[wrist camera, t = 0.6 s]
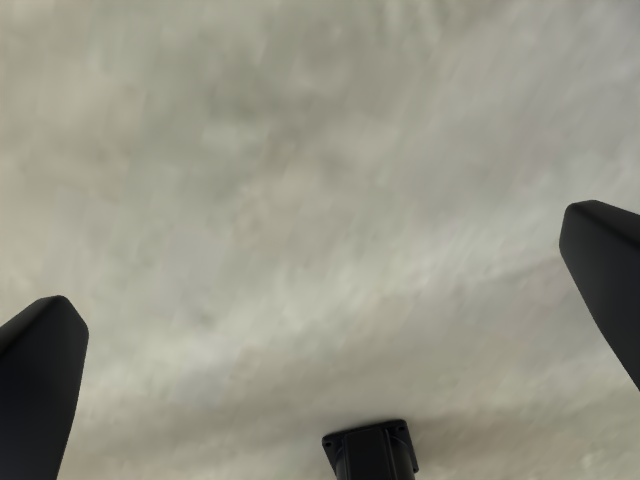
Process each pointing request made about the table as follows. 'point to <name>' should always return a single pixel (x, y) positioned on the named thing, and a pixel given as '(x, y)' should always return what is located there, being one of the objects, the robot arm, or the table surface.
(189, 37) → the table surface
